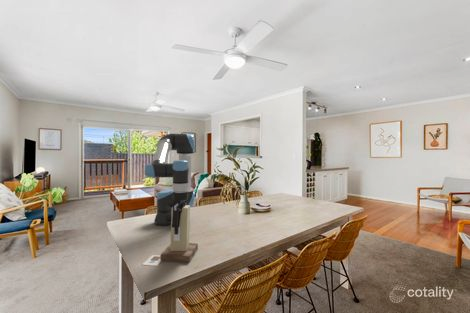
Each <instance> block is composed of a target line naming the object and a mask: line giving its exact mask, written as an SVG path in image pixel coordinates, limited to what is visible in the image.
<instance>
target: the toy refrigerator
mask: <svg viewBox="0 0 470 313" xmlns="http://www.w3.org/2000/svg"><path fill="white" fill-rule="evenodd" d="M179 211H181V209H180V210H179ZM172 218H173V207H172V212H171V225H170V244H171V248H170V250H171V251H187V249H188V247H189V243H190V232H191V231H190V227H191V225H190V224H191V207H190V205H185V206H184V207H183V208H182V213H181V217H180V224H179V227H180V241H174V227H172Z"/></svg>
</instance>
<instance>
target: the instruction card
mask: <svg viewBox="0 0 470 313" xmlns="http://www.w3.org/2000/svg"><path fill="white" fill-rule="evenodd" d="M161 262H162V261H161V260H160V255H159V254H158V255H156V254H155V255H154V254H151V256H149V257H148V258H147V259H146V260H145V261H144V262H143V263H142V264H141V265H142V266H149V267H150V266H151V267H152V266H153V267H158V265H159V264H160V263H161Z"/></svg>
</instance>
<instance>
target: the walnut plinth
mask: <svg viewBox="0 0 470 313" xmlns="http://www.w3.org/2000/svg"><path fill="white" fill-rule="evenodd" d="M198 245H199V244H198V243H194V242H193V243H192V242H191V243H190V242H189V247H188V249H187V251H171V250H170V248H171V243H170V244H169V245H168V246H167V247H166V248H165V249H164V250H163V251H162V252H161V254H160V255H159V256H160V260H161V262H173V263H188V264H189V263H191V261H192V260H193V257H194V256H195V254H196V253H197V251H198V250H199V248H198V247H199V246H198Z"/></svg>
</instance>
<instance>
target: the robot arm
mask: <svg viewBox="0 0 470 313" xmlns="http://www.w3.org/2000/svg"><path fill="white" fill-rule="evenodd" d="M195 144H196V143H195V136H194V135H193V134H190V133H169V134H168V133H167V134H165V135H163V136H162V137H161V138H159V140H158V141H157V142H156V150H155V154H154V155H153V158H152V162H150V163H146V164H145V167H144V175H145V177H146V178H149V179H150V178H152V179H155V178H158V179H159V178H172V185H171V186H172V189H165V190H160V191H158V193H157V196H156V197H157V198H156V214H155V217H154V225H156V226H160V227H161V226H162V227H166V226H171V212H172V207H173V218H172V227H174V241H180V227H179V224H180V217H181V213H182V208H183V207H184V206H185V205H190V208H192V207H193V206H194V203H195V197H196V191H195V190H194V188H193V187H192V155H193V154H194V151H196V145H195ZM171 151H176V154H177V155H178V159H177V160H173V161H172V163H168V162H167V161H168V158H169V153H170V152H171ZM180 209H181V211H179V210H180Z"/></svg>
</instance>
